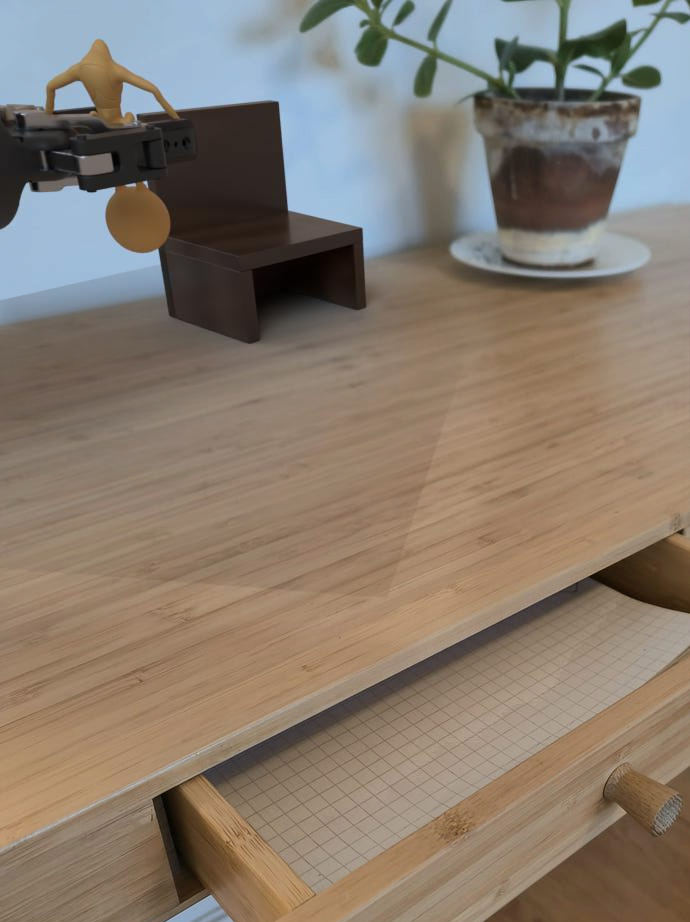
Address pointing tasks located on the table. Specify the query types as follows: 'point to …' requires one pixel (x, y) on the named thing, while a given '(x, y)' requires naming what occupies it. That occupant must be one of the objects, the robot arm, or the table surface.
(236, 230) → the wooden miniature chair
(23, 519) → the table surface
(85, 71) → the figurine
